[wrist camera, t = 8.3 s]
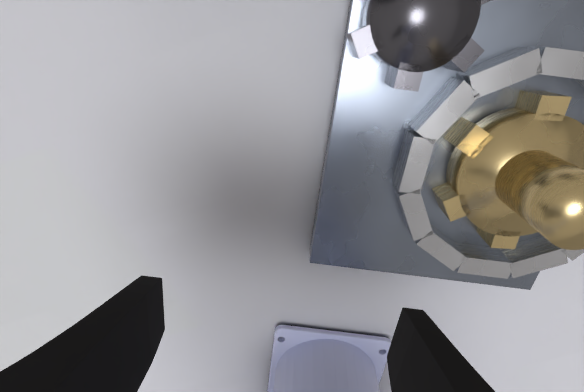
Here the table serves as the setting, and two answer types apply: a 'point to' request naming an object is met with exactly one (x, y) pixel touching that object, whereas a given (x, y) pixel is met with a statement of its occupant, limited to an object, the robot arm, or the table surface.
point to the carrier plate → (434, 129)
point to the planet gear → (519, 173)
